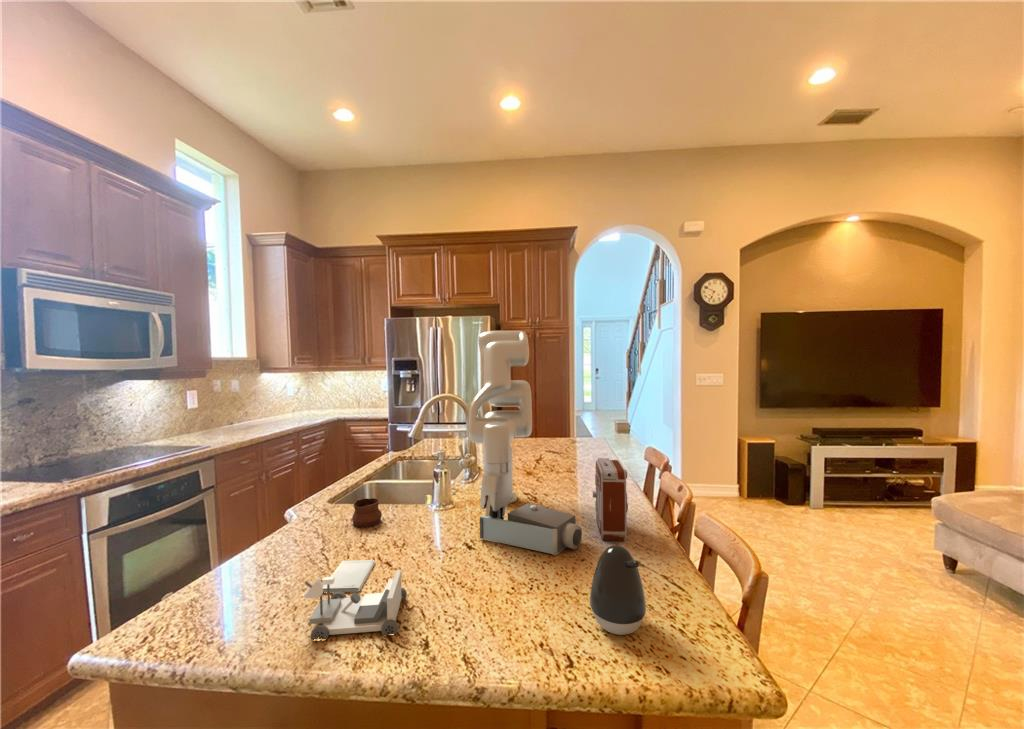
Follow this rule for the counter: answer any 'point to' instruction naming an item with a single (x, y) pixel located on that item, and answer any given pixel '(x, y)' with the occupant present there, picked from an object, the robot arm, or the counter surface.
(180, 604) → the counter surface
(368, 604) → the toy car
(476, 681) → the counter surface
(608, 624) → the dark grey egg-shaped piece
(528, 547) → the side door
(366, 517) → the ceramic pot
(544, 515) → the block
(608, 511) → the cine camera
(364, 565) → the hard drive
